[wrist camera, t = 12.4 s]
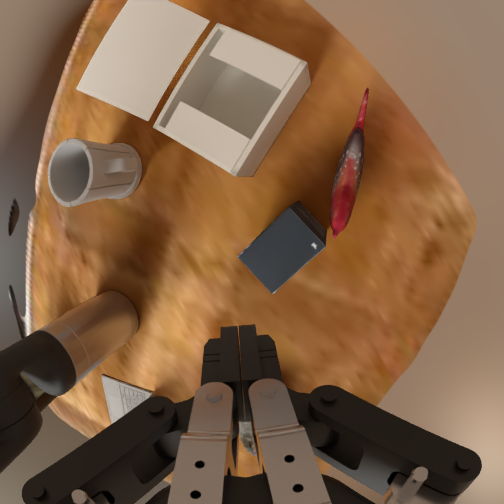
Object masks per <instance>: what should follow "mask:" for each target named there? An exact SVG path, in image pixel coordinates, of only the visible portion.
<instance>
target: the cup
mask: <svg viewBox="0 0 504 504" xmlns="http://www.w3.org/2000/svg"><path fill="white" fill-rule="evenodd" d="M141 175H142V164H141V159H140V157H139V155H138V153H137V151H136V150H135V149H134V148H133V147H132V146H130V145H128V144H125V143H112V144H102V143H97V142H91V141H86V140H82V139H77V138H70V139H67V140H65V141H63V142H61V143H60V144H59V145H58V146H57V148H56V149H55V150H54V152H53V154H52V156H51V159H50V162H49V166H48V176H49V177H48V182H49V187H50V190H51V192H52V195H53V196H54V198H55V199H56V200H57V201H58V202H59V203H60V204H62V205H64V206H69V207H73V206H76V205H79V204H83V203H86V202H90V201H94V200H98V199H103V198H110V199H121V198H125V197H128V196H129V195H130V194H132V193H133V192H134V191H135V189H136V188H137V186H138V185H139V182H140V179H141Z"/></svg>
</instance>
